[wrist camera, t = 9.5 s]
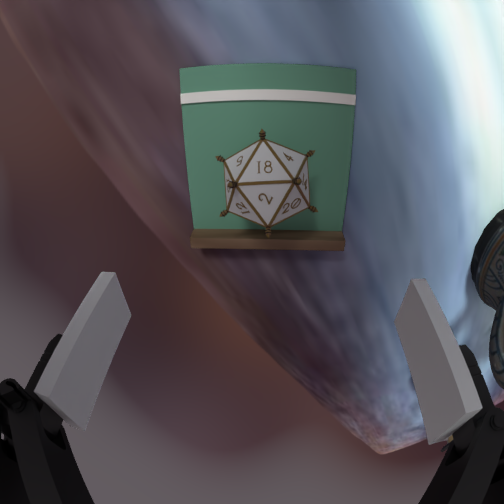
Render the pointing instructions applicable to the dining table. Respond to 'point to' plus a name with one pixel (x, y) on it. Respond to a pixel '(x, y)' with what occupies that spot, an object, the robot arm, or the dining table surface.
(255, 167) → the game die
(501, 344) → the beer stein
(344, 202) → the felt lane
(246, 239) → the walnut backstop rail
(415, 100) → the dining table surface
